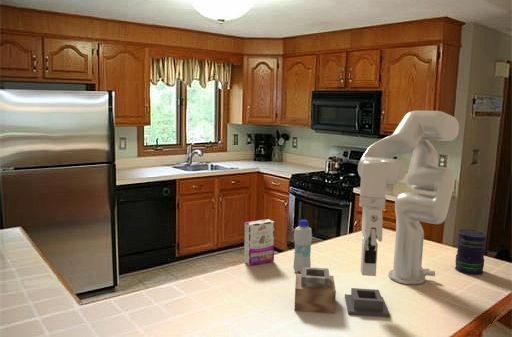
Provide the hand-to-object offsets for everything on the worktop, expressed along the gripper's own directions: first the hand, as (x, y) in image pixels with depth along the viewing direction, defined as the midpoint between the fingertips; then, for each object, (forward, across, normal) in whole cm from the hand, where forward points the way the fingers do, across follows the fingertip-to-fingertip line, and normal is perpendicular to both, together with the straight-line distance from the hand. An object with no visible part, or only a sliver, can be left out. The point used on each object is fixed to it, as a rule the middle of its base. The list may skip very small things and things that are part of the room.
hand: (368, 259), depth 132 cm
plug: (+4, 0, 0) cm, 4 cm away
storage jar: (+15, +38, -44) cm, 60 cm away
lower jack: (+15, 0, 0) cm, 15 cm away
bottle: (+15, +26, +20) cm, 36 cm away
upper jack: (+15, 0, +16) cm, 22 cm away
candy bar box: (+15, +34, +37) cm, 53 cm away
